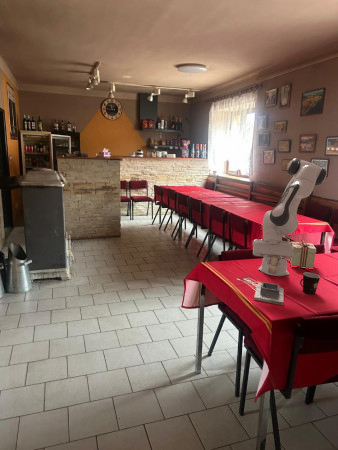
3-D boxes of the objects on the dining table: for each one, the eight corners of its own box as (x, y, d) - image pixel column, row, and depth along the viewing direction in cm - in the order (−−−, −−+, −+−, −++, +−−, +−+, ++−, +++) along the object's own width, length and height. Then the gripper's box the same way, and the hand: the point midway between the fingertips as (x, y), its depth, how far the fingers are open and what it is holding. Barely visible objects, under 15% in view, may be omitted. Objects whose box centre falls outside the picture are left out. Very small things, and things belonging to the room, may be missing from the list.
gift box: (282, 260, 239) (285, 237, 236) (309, 263, 237) (313, 240, 233) (286, 268, 223) (290, 243, 219) (315, 271, 220) (319, 246, 217)
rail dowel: (268, 270, 175) (270, 255, 174) (276, 271, 174) (278, 256, 172) (268, 273, 171) (270, 257, 170) (276, 274, 170) (278, 258, 169)
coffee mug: (312, 289, 187) (315, 272, 185) (320, 296, 179) (323, 278, 177) (292, 288, 187) (295, 271, 185) (299, 295, 178) (301, 277, 176)
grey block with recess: (257, 286, 187) (258, 277, 186) (283, 290, 183) (284, 282, 182) (254, 299, 168) (255, 290, 167) (283, 305, 164) (284, 295, 163)
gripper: (253, 236, 177) (254, 259, 169) (292, 239, 176) (295, 262, 168) (251, 242, 182) (251, 265, 175) (289, 245, 181) (291, 268, 173)
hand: (273, 264), depth 171 cm, fingers closed on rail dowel, 4 cm apart
